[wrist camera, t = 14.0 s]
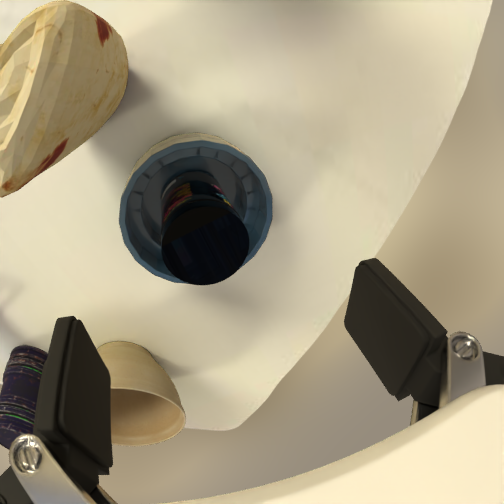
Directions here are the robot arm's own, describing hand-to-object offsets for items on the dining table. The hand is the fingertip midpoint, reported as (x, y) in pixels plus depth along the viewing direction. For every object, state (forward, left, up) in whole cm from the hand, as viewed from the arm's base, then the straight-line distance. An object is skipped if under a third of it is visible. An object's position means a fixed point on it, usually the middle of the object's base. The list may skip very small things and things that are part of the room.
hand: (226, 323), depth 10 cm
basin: (+5, +1, -24) cm, 24 cm away
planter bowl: (+28, -13, -24) cm, 39 cm away
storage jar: (+27, -29, -24) cm, 46 cm away
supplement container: (+5, +1, -23) cm, 24 cm away
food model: (-8, -7, -24) cm, 26 cm away
